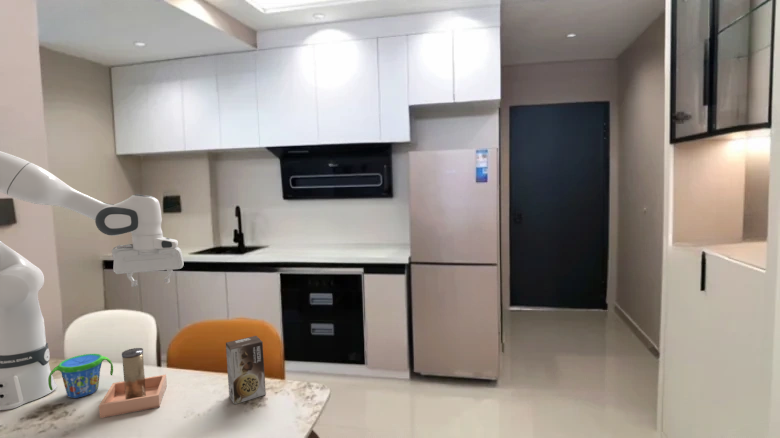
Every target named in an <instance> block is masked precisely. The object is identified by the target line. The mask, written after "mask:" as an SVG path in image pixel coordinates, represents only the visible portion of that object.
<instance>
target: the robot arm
mask: <svg viewBox="0 0 780 438" xmlns="http://www.w3.org/2000/svg"><path fill="white" fill-rule="evenodd" d="M0 193H3V194H5V195H7V196H10V197H12V198H13V199H17V200H20V201H23V202H28V203H31V204H34V205H42V206H43V205H44V206H53V207H60V208H65V209H67V210H71V211H72V212H75V213H78V214H79V215H82V216H85V217H86V218H88V219H89V218H90V219H91V220H94V222H95V225H96V228H97V229H98V231H100V232H101V233H102V234H104V235H107V236H112V237H115V236H118V237H119V236H121V235H123V234H127V233H131V241H132V243H131V244H130V243H129V244H123V245H122V244H118V245H116V246H115V247H113V248H112V250H111V255H112V258H113V266H112V267H113V269H112V270H113V272H114V273H115V274H116V275H120V274H121V275H122V274H123V275H125V274H126V278H127V279H128V280H129V281H130V283H131V286H130V287H137V286H139V284H138V279H134V277H133V275H134V274H135V273H147V272H156V271H157V272H158V271H166V273H167V274H168V275H167V276H165V277H163V284H170V282H171V281H170V278H171V276H172V273H173V270H180V269H182V268H183V267H184V255H183V251H182V249H181V248H180V247H179V241H178V240H177V239H173V238H170V237H165V236H164V232H163V230H162V222H163V219H162V208H161V203H160V201H159V199H158V198H156V197H154V196H153V195H145V194H139V193H137V194H132V195H130V197H128V198H126V199H124V200H123V201H120V202H117V203H115V204H114V203H106V202H104V201H101V200H99V199H97V198H95V197H92V196H90V195H87V194H85V193H83V192H81V191H78V190H77V189H75V188H73V187H72V186H70V185H69V184H67V183H66V182H65V181H63V180H61V179H60V178H59V177H58V176H56V175H55V174H54V173H52V172H50V171H48V170H47V169H45V168H43V167H41V166H39V165H37V164H35V163H33V162H31V161H29V160H27V159H24V158H21V157H20V156H17V155H13V154H11V153H8V152H5V151H1V150H0ZM44 284H45V275H44V273H43V271H42V269H41V268H39V266H36V265H35V264H34V263H32V262H31V261H30V260H28V259H27V258H26V257H25V256H23V255H22V254H20V253H18V252H17V251H15V250H14V249H13V248H11V247H10V246H8V245H7V244H5V243H4V242H3V241H2V240H0V411H5V410H12V409H16V408H18V407H21V406H23V405H24V404H27V403H30V402H32V401H36V400H39V399H41V398H43V397H44V396H48V395H49V394H50V393H52V392H54V391H55V390H56V389H57V387H58V385H57V383H56V381H55V378H54V376H53V374H52V375H51V385H52V389H53V390H50V388H49V384H48V378H49V375H50V373H51V371H52V370H51V367H50V357H51V356H50V354H51V353H50V349H49V343H48V342H47V340H46V339H47V338H46V328H45V318H44V316H43V312H42V309H41V306H40V305H41V304H40V301H39V291H40V290H41V289H42V288H43V286H44Z"/></svg>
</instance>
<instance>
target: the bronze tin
mask: <svg viewBox="0 0 780 438" xmlns="http://www.w3.org/2000/svg"><path fill="white" fill-rule="evenodd" d="M121 359H122V369H123V371H122V372H123V381H124V386H125V399H132V398H138V397H143V396H146V389H145V378H146V377H145V363H144V362H145V361H144V348H142V347H134V348H128V349H126V350H124V351H122V352H121Z"/></svg>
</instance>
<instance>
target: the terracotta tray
mask: <svg viewBox="0 0 780 438" xmlns="http://www.w3.org/2000/svg"><path fill="white" fill-rule="evenodd" d="M167 386H168V384H167V374H161V375H156V376H155V375H154V376H149V377H145V389H146V396H143V397H138V398H132V399H125V386H124V380H123V381H117V382H113V383H112V384H111V386H110V387H109V388H108V390H107V392H106V394H105V395H104V397H103V399H102V400H101V402H100V403H99V405H98V411H99V419H103V418H109V417H113V416H114V417H115V416H119V415H124V414H129V413H134V412H140V411H141V412H142V411H146V410H152V409H157V408H160V407H161V405H162V401H163V398H164V395H165V392H166V389H167Z"/></svg>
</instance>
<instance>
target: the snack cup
mask: <svg viewBox="0 0 780 438" xmlns="http://www.w3.org/2000/svg"><path fill="white" fill-rule="evenodd" d="M104 361H107V362H108V363H109V364H110V372H109V373H110V376H113V373H114V366H113V362H112V360H111V359H110V358H109V357H108V356H104V355H102V354H100V353H87V354H86V353H85V354H80V355H76V356H72V357H70V358H67V359H64V360H63V361H61V362H60V363H58V365H57V366H56V367H54V368H53V369H52V370H51V373H50V375H49V378H48V384H49V388H50V390H53V389H52V385H51V375H52V376H53V374H55V372H57V371H59V372H60V373H61V377H62V381H63V385H64V388H65V392H66V395H67V397H69V398H71V399H72V398H74V399H78V398H82V397H86V396H87V395H92V394H94V393H95V392H96V391H97V390H98V389H99V385H100V376H101V375H100V374H101V368H102V364H103V362H104ZM53 391H54V390H53Z"/></svg>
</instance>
